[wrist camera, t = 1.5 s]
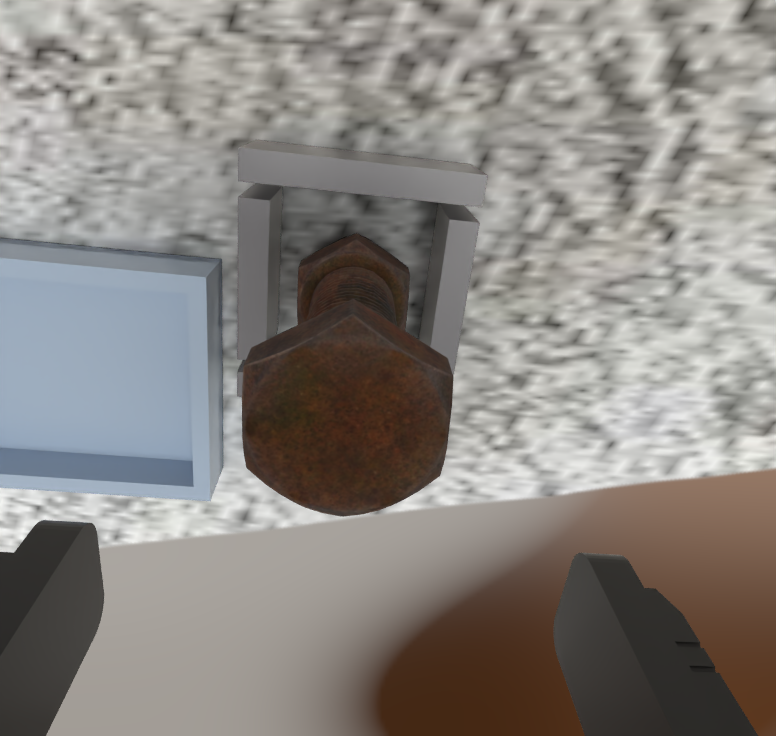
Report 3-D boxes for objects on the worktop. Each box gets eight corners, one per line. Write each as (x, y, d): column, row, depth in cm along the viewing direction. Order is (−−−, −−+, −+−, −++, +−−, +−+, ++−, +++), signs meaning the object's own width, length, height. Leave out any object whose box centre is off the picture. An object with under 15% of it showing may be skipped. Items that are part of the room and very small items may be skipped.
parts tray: (221, 259, 28) (206, 277, 25) (223, 466, 32) (210, 501, 30) (-87, 229, 26) (-139, 244, 24) (-38, 448, 31) (-77, 482, 29)
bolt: (274, 277, 28) (190, 450, 14) (330, 186, 26) (295, 284, 13) (376, 340, 30) (386, 549, 16) (435, 257, 28) (503, 412, 14)
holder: (470, 164, 26) (487, 175, 23) (437, 374, 31) (446, 412, 27) (256, 139, 25) (238, 147, 22) (252, 359, 30) (237, 396, 26)
